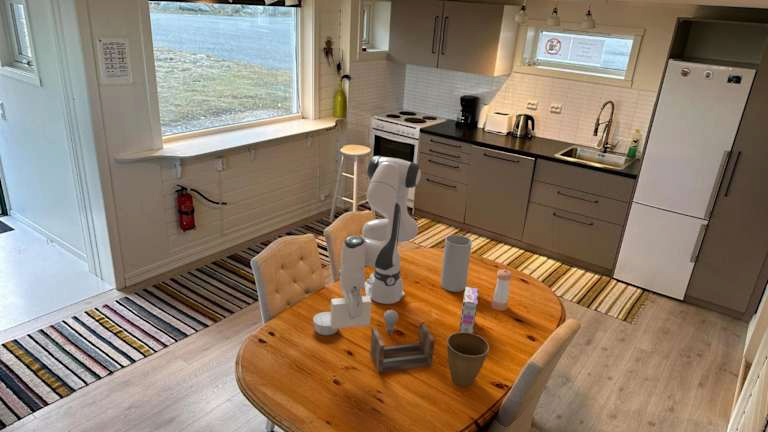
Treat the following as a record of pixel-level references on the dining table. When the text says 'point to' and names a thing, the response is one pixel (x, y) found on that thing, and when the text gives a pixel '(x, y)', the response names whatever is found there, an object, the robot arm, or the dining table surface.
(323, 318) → the ramekin
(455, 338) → the plant pot
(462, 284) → the cylinder vase
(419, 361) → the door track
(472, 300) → the candy box
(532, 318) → the dining table surface
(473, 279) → the dining table surface
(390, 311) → the lightbulb
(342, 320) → the door panel
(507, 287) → the salt shaker
